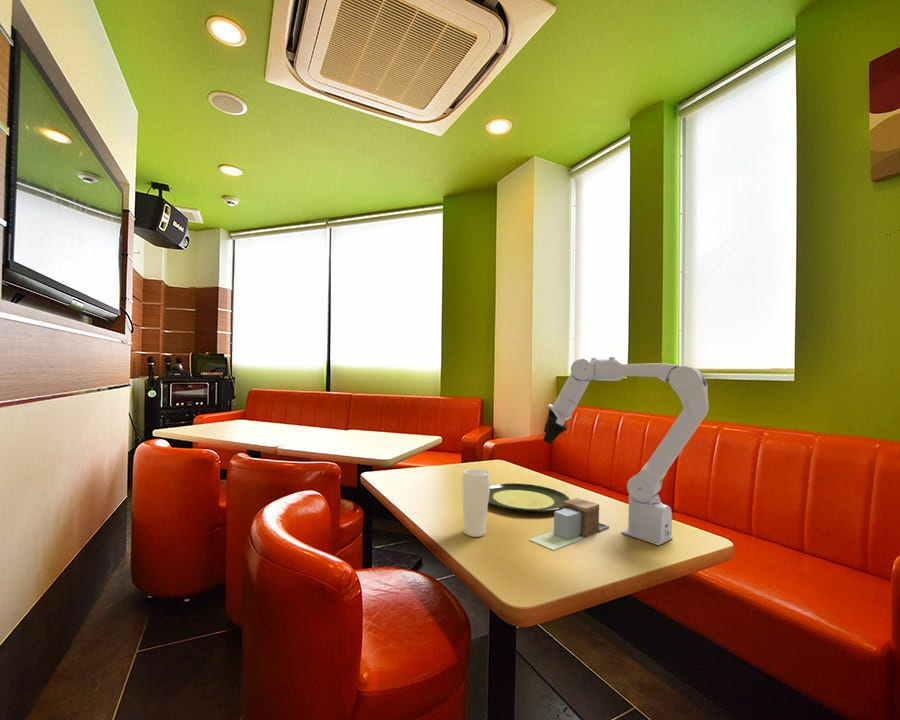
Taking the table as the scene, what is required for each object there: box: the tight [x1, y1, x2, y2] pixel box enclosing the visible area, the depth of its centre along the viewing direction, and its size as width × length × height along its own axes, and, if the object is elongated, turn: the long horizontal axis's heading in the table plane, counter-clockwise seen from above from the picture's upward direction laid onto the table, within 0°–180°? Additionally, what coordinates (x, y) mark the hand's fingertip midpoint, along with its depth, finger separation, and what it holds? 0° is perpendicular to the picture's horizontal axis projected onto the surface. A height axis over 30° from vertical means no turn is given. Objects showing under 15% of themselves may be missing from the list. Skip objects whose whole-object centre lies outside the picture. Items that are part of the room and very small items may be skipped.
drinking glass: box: [461, 468, 491, 538], centre depth 102 cm, size 7×7×15 cm
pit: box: [598, 522, 610, 533], centre depth 110 cm, size 7×4×1 cm, turn 40°
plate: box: [488, 482, 571, 513], centre depth 129 cm, size 28×28×2 cm
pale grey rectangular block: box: [553, 507, 583, 540], centre depth 105 cm, size 4×12×6 cm, turn 130°
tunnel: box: [562, 497, 600, 538], centre depth 106 cm, size 7×6×7 cm
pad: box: [528, 530, 585, 552], centre depth 100 cm, size 7×12×1 cm, turn 130°
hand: (547, 437), depth 122 cm, fingers open, 7 cm apart
